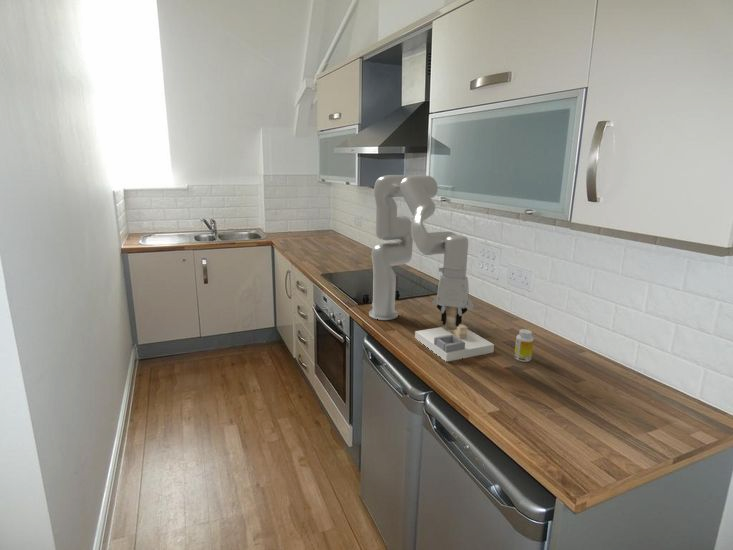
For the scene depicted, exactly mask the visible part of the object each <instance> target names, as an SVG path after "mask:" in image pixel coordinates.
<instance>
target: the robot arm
mask: <svg viewBox="0 0 733 550" xmlns="http://www.w3.org/2000/svg"><path fill="white" fill-rule="evenodd" d="M438 187H439V186H438V183H437V180H436V179H435V178H434V177H432V176H430V175H417V174H388V175H382V176H380V177H378V178H377V179H376V181H375V183H374V186H373V193H374V201H375V205H376V209H375V210H376V211H375V235H376V237H377V239H378V240H381V241H395V240H397V241H395V242H384V243H379V244H376V245H374V247H373V248H372V249H371V256H370V257H371V261H372V272H373V273H372V274H373V278H372V279H373V280H372V281H373V282H372V288H373V289H372V303H371V306H372V309H371V310H369V311H368V315H369V317H370V318H372V319H374V320H377V319H378V321H392V320H394V319H397V318H398V316H399V312H398V311H397V310H395V309H396V307H395V306H396V288H397V287H396V284H397V282H396V281H397V279H396V278H397V277H396V273H395V271H394V269H393V267H392V266H398V265H399V266H400V265H406V264H407V263H409V262H410V261H411V260H412V256H413V248H414V247H413V246H414V244H415V246H416V248H417V250H418V251H419V252H420V253H422V254H423V255H425V256H433V255H443V267H439V268H438V273H441V274H442V275H440V276H439V281H438V287H437V294H436V296H435V297H434V299H433V300H432V302H431V304H432V305H434V306H435V307H436V308H437V309H438V310H439V312H440V313H441V315H440V316H441V317H440V318H441V319H440V320H441V322H442V325H443V326H445V319H446V306H448V307H456V308H458V315H457V320H456V326H457V327H458V326H459V324H461V323H462V318H463V315H464V314H465V313H467V311H470V310H473V308H474V304H473V302H472V301H471V299H470V296H469V292H470V291H469V289H470V288H469V277H468V276H467V263H468V251H469V239H468V237H466V236H464V235H460V234H459V235H458V234H457V233H454V232H452V231H437V232H436V231H435V232H428V231H427V229H426V228H425V225H424V221H425V220H427V219H429V218H430V217H432V216H433V214H434V213H435V211H436V204H435V203H434V201H433V200H432V199H433V198H435V196H436V195H437V194H438V192H439V191H438V189H439V188H438ZM394 198H403V200H404V201H405V203H406V205H407V206H408V209H409V211H410V213H411V214H412V216H413V217H412V219H411V218H409V217H407V216H401V215H399V216H398V205H397V202H396V201H395V199H394ZM413 242H414V243H413Z"/></svg>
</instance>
